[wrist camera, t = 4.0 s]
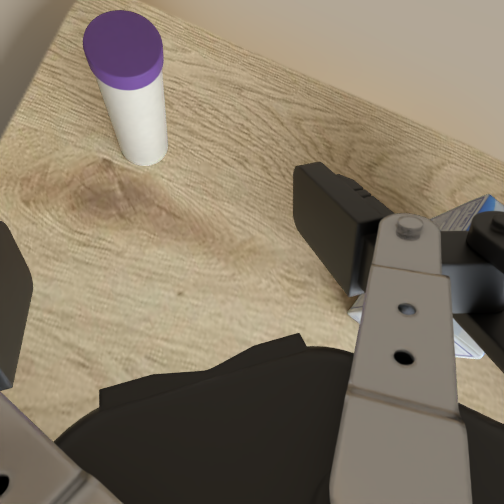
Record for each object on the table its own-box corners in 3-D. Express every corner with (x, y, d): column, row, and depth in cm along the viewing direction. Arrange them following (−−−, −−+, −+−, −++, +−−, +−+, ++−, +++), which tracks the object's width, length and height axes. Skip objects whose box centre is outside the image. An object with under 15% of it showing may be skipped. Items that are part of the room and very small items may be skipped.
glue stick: (124, 171, 27) (90, 82, 17) (113, 125, 27) (75, 13, 17) (174, 162, 27) (170, 72, 18) (163, 117, 28) (153, 5, 18)
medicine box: (392, 353, 27) (484, 364, 19) (342, 312, 27) (413, 305, 19) (448, 267, 29) (554, 243, 21) (402, 228, 29) (490, 189, 21)
